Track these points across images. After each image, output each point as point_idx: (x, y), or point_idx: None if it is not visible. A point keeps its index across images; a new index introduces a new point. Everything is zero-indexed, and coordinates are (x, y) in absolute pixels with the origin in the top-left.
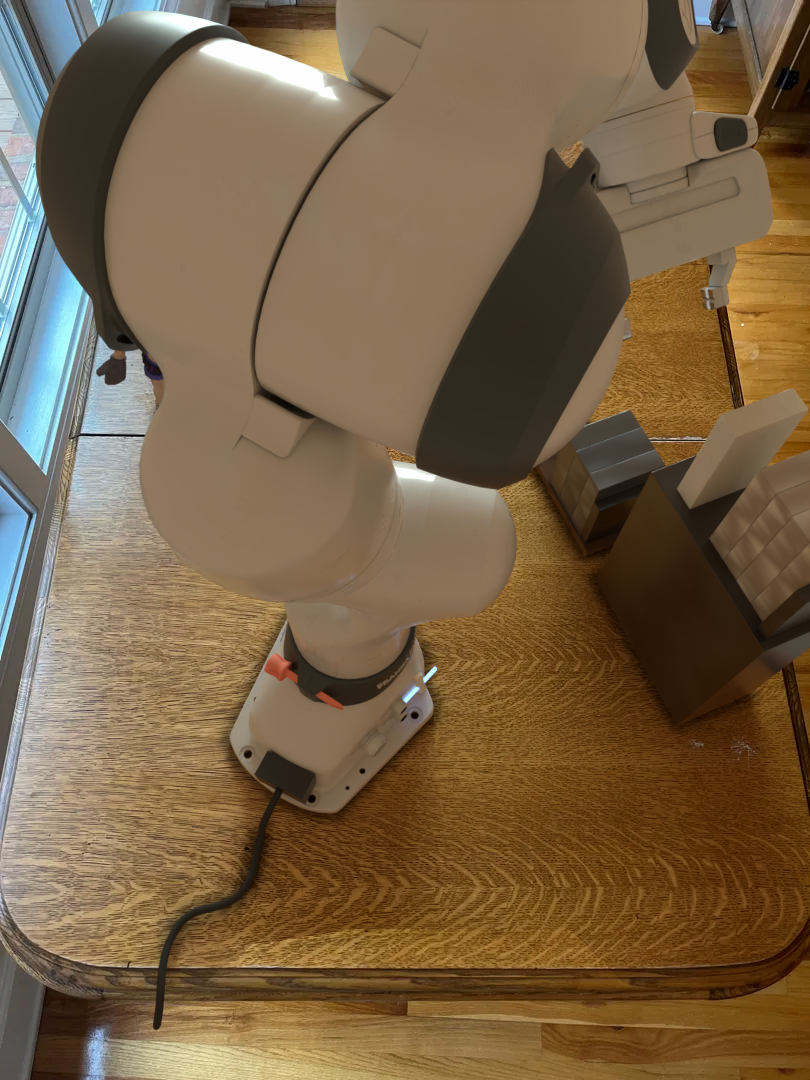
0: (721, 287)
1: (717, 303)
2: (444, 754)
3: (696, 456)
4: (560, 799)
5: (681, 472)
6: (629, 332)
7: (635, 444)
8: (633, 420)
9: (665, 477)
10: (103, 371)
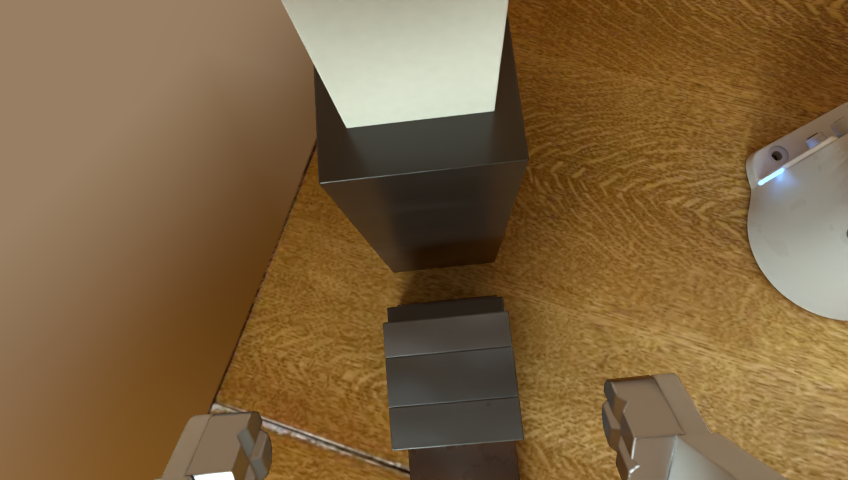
0: (190, 471)
1: (236, 420)
2: (742, 112)
3: (503, 32)
4: (624, 41)
5: (468, 143)
6: (624, 391)
7: (414, 376)
8: (396, 425)
9: (506, 140)
10: None
